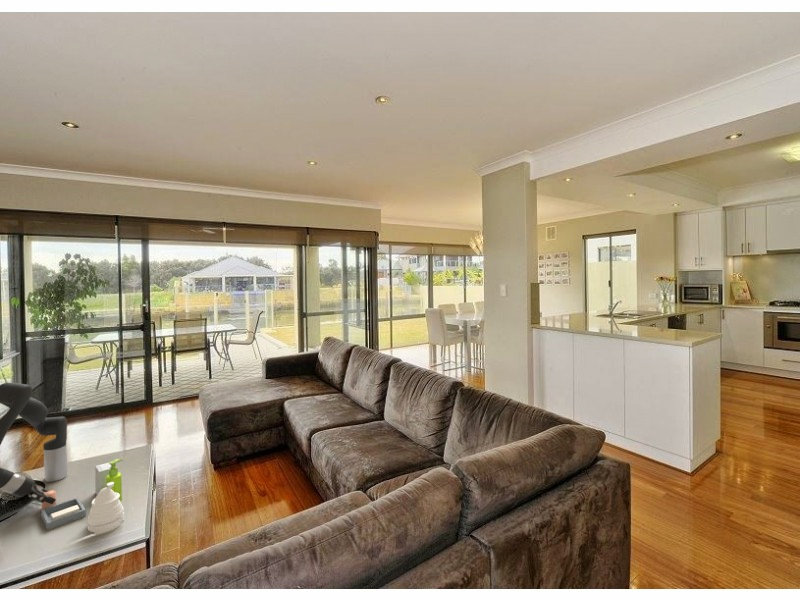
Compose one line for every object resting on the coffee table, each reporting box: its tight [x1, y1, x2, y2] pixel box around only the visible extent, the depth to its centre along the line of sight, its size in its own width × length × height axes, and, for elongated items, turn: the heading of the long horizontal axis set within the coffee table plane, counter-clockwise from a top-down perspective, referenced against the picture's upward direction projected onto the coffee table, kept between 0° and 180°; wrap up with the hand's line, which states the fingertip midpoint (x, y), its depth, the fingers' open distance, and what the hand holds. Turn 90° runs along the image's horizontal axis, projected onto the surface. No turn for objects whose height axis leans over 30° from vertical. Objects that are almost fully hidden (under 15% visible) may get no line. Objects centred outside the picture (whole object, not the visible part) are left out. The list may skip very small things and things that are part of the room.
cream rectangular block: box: [51, 505, 79, 521], centre depth 171 cm, size 4×9×4 cm, turn 141°
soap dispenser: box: [106, 458, 124, 502], centre depth 187 cm, size 6×7×20 cm
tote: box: [40, 496, 87, 531], centre depth 174 cm, size 15×13×4 cm
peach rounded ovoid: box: [41, 489, 57, 509], centre depth 180 cm, size 5×5×8 cm
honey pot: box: [86, 482, 125, 535], centre depth 169 cm, size 13×13×18 cm
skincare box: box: [94, 462, 111, 496], centre depth 192 cm, size 8×6×15 cm
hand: (52, 498), depth 181 cm, fingers open, 8 cm apart
